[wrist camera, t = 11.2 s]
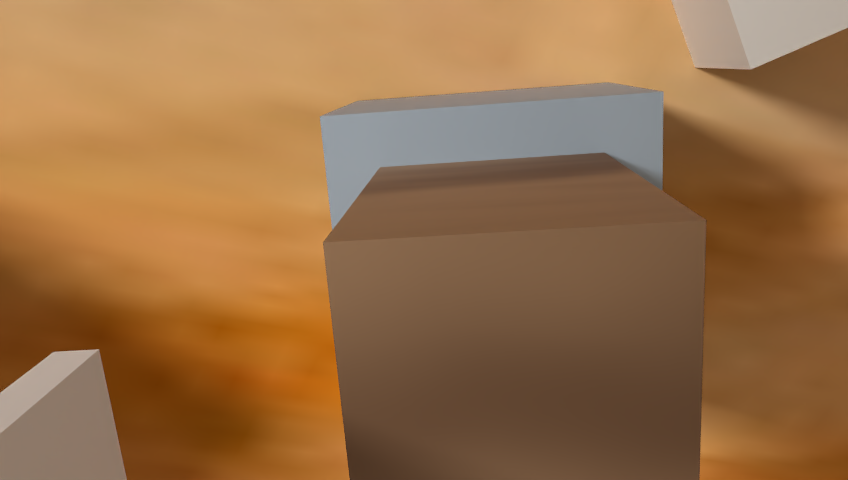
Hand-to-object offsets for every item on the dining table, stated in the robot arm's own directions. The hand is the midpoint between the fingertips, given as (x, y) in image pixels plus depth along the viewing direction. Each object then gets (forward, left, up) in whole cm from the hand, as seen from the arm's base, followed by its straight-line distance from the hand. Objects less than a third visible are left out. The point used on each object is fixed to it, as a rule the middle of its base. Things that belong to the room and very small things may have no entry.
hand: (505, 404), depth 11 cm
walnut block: (0, 0, -9) cm, 9 cm away
